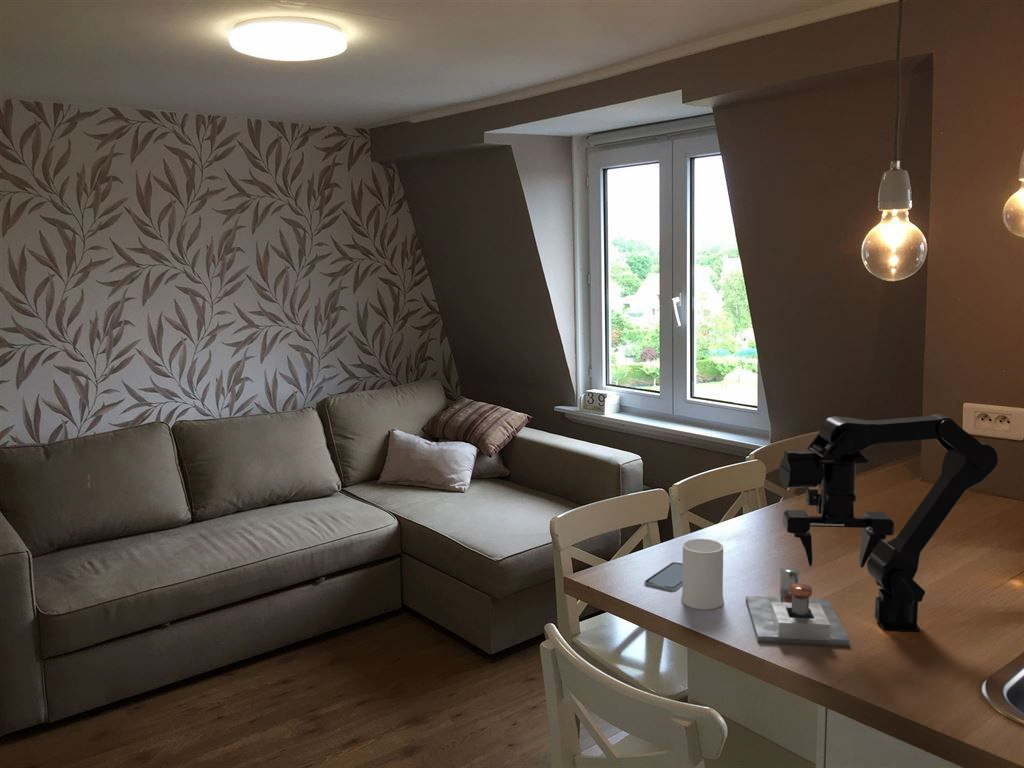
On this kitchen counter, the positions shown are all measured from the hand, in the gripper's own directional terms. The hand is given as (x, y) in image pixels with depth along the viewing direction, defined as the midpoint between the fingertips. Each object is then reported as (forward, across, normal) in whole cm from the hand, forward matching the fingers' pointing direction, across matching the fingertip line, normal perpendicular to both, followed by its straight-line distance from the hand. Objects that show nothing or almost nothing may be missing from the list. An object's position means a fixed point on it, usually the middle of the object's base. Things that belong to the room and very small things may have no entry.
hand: (835, 566), depth 159 cm
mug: (+12, +23, -11) cm, 28 cm away
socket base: (+12, +7, -1) cm, 14 cm away
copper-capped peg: (+11, +7, +4) cm, 13 cm away
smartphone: (+13, +29, -22) cm, 39 cm away
